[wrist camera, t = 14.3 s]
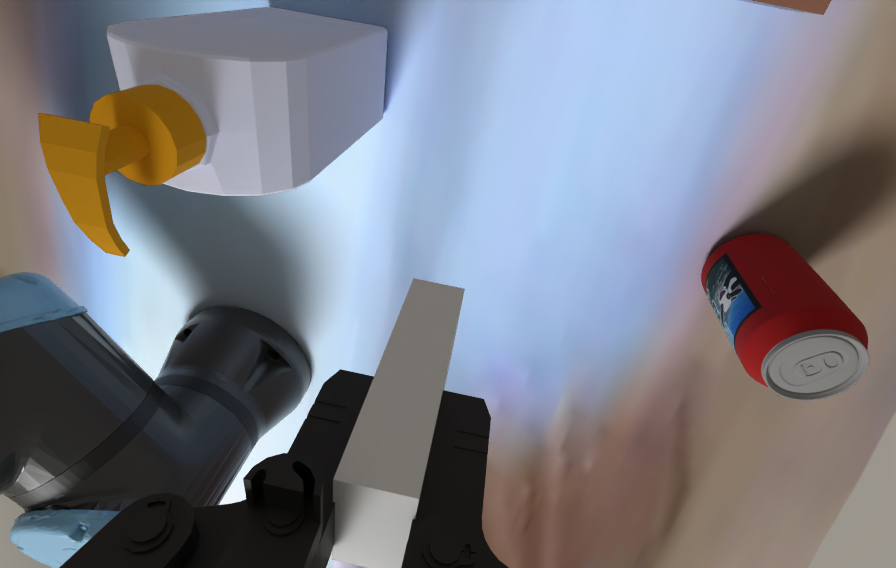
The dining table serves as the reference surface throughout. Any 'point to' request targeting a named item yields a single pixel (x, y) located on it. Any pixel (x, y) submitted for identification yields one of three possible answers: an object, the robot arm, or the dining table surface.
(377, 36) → the soap bottle
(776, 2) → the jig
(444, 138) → the dining table surface
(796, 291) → the beverage can
